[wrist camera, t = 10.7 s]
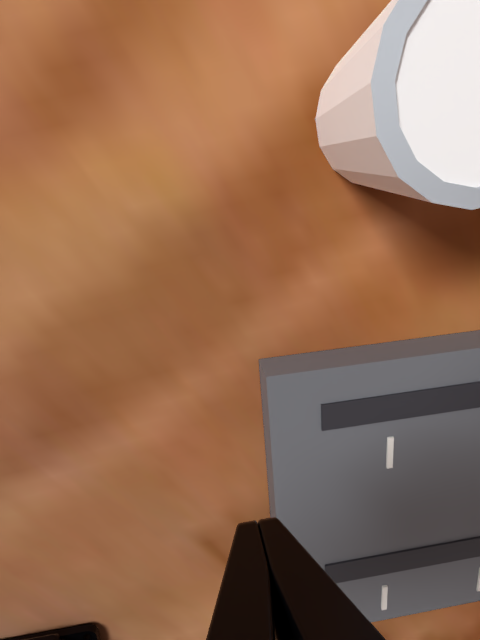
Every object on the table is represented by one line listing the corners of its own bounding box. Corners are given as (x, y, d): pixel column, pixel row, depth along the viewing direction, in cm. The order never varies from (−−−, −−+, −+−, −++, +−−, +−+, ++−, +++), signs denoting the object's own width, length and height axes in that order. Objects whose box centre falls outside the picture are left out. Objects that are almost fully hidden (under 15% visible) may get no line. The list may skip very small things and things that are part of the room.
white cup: (463, 25, 17) (638, -73, 11) (443, 197, 19) (578, 205, 13) (302, 23, 16) (382, -83, 10) (300, 203, 19) (364, 215, 12)
